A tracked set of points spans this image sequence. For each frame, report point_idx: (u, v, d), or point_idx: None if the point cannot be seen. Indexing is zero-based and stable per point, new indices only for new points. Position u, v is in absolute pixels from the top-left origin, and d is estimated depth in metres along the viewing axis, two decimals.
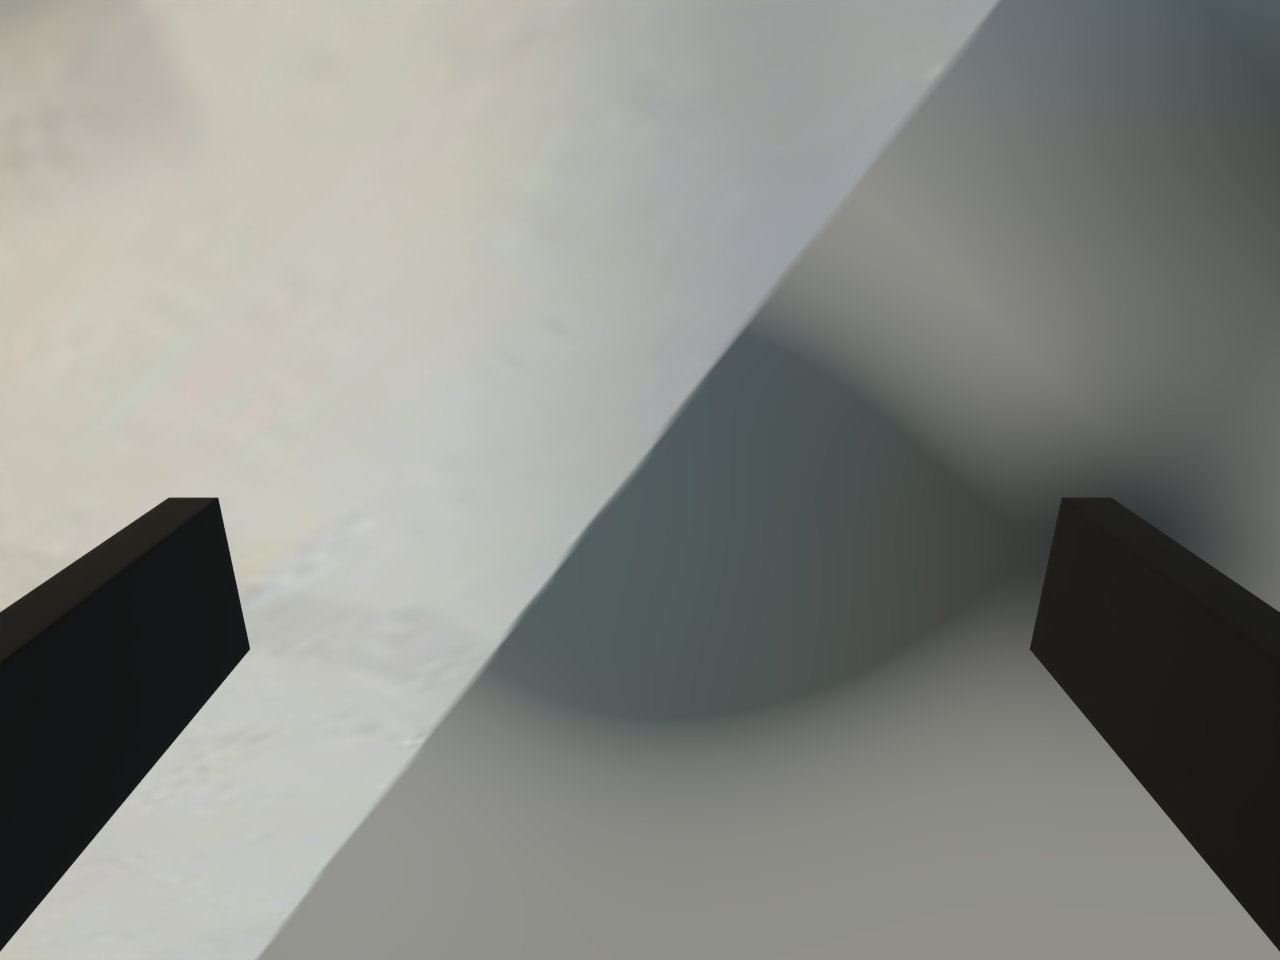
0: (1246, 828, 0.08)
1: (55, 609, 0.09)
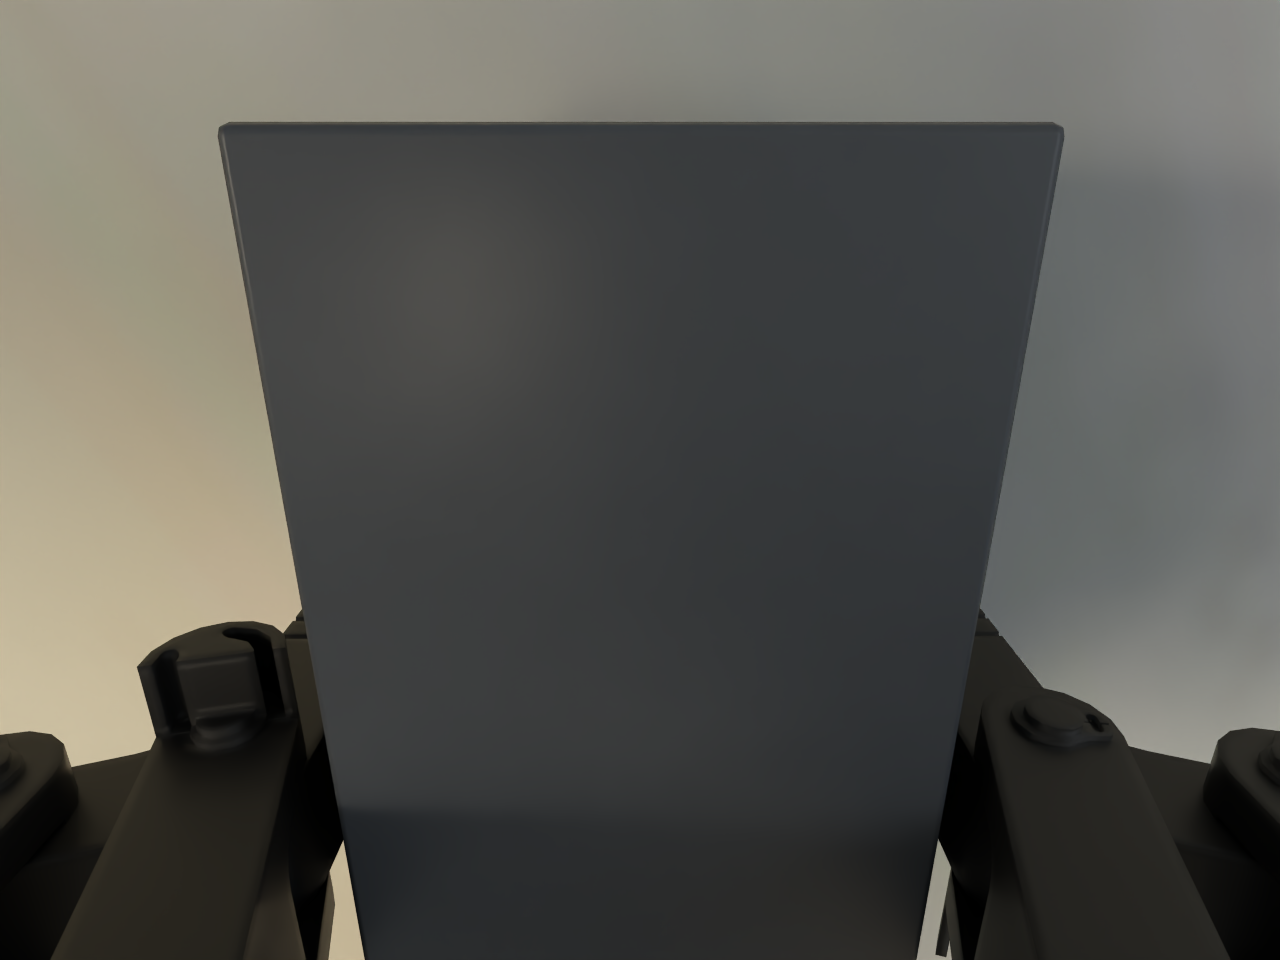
0: None
1: None
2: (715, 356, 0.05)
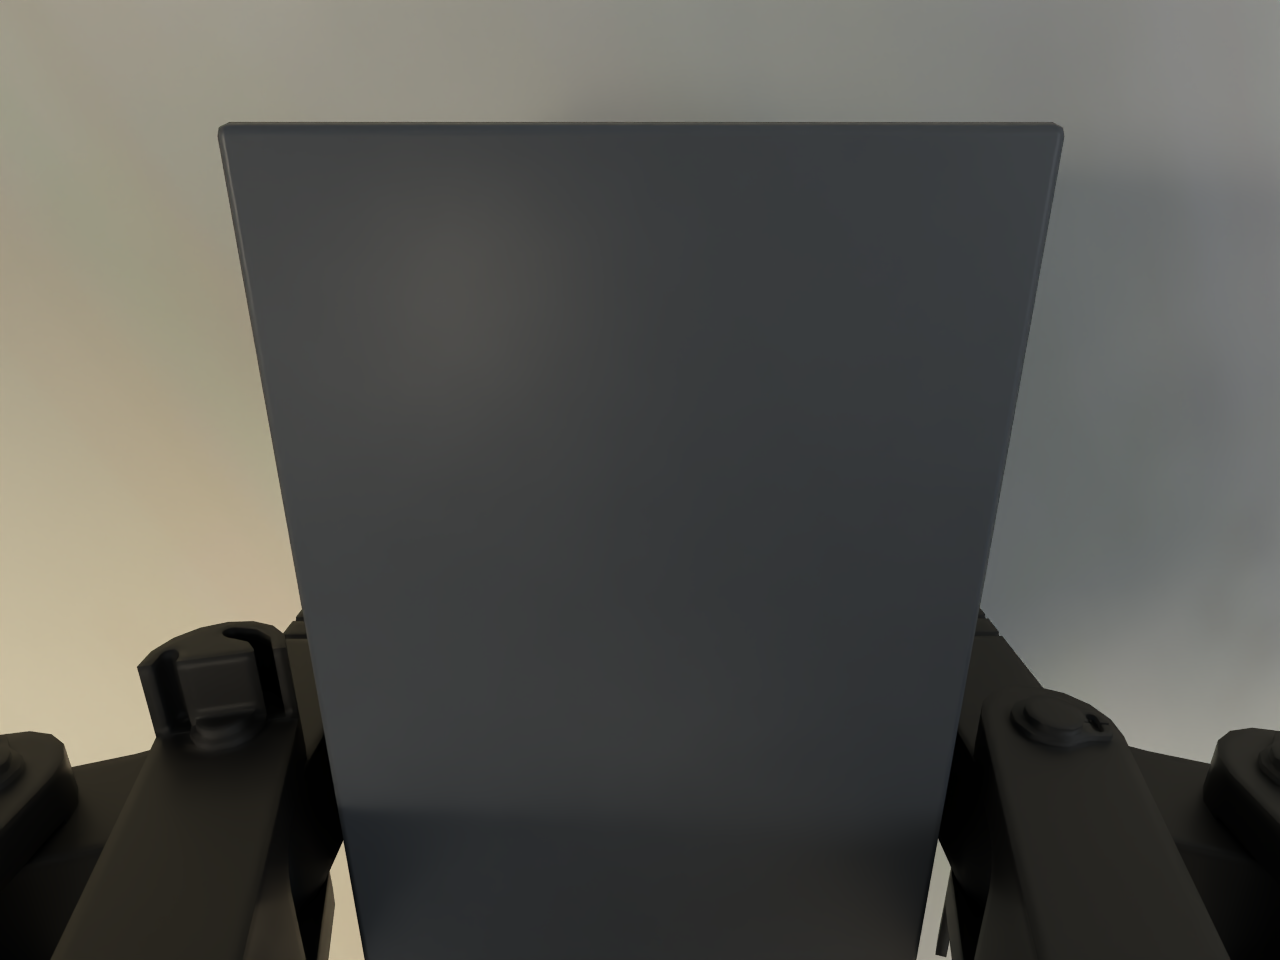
0: None
1: None
2: (713, 357, 0.05)
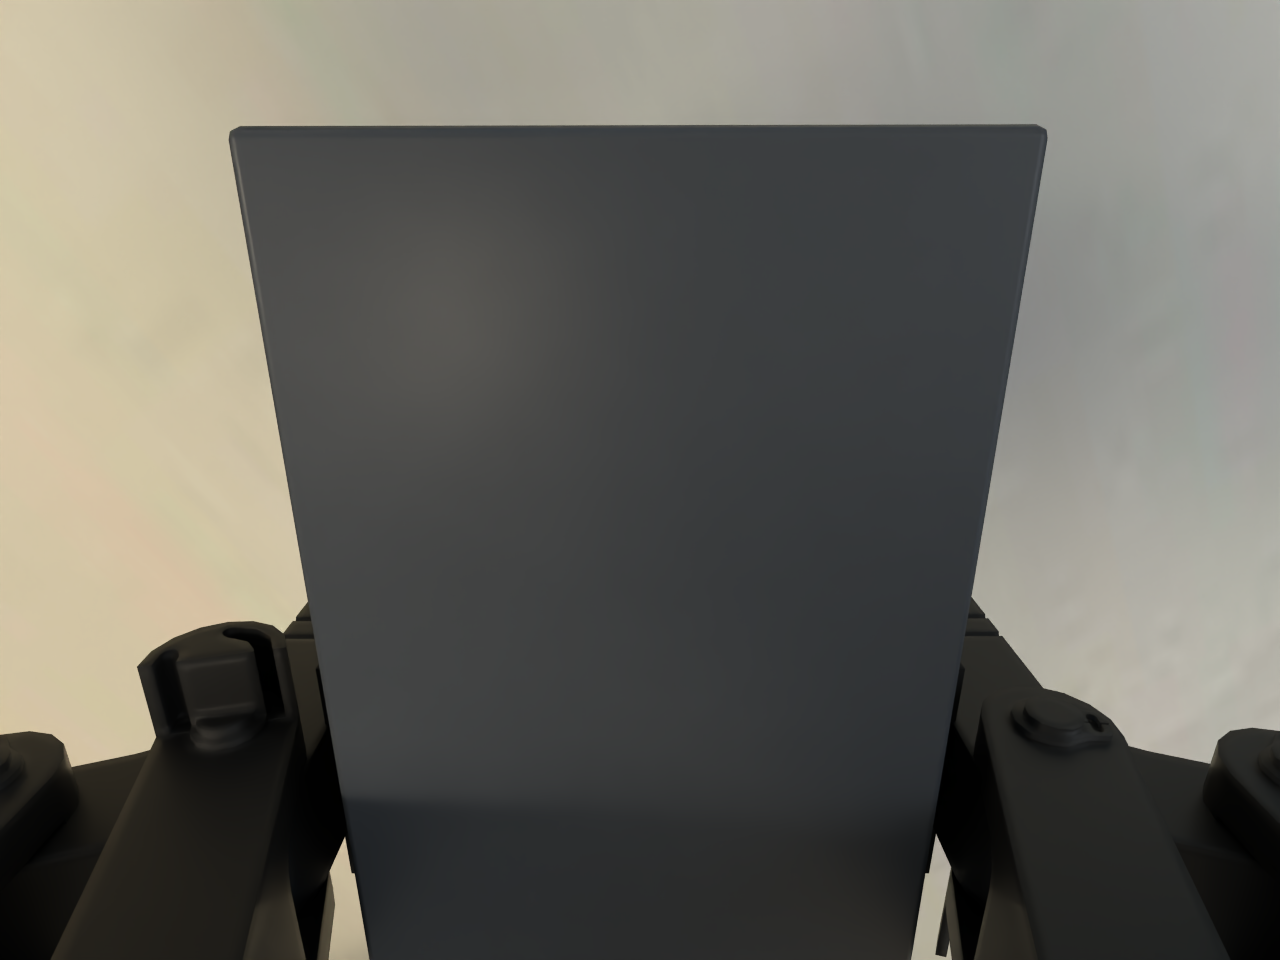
0: None
1: None
2: (710, 353, 0.05)
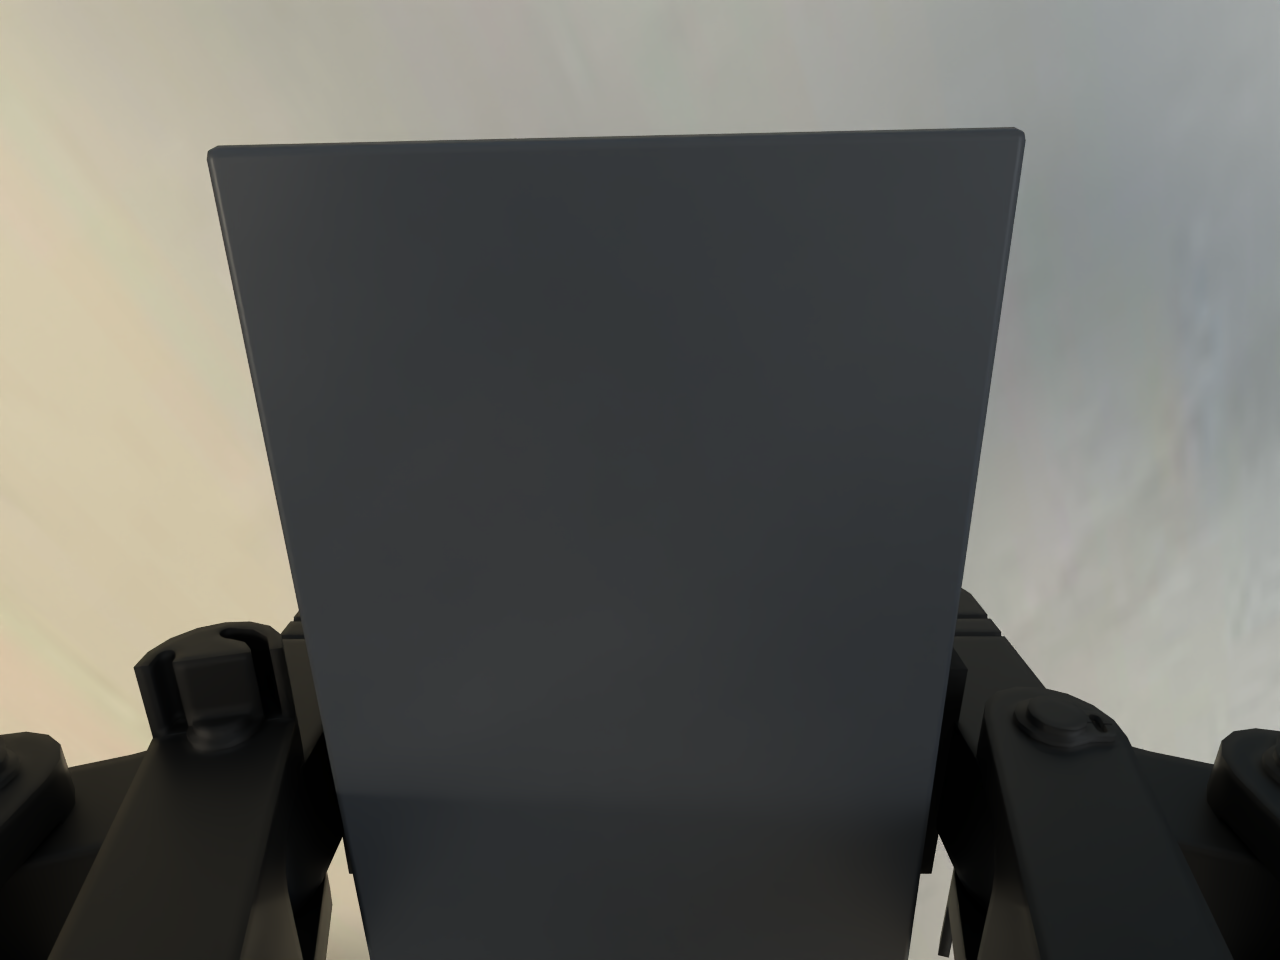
0: None
1: None
2: (691, 362, 0.05)
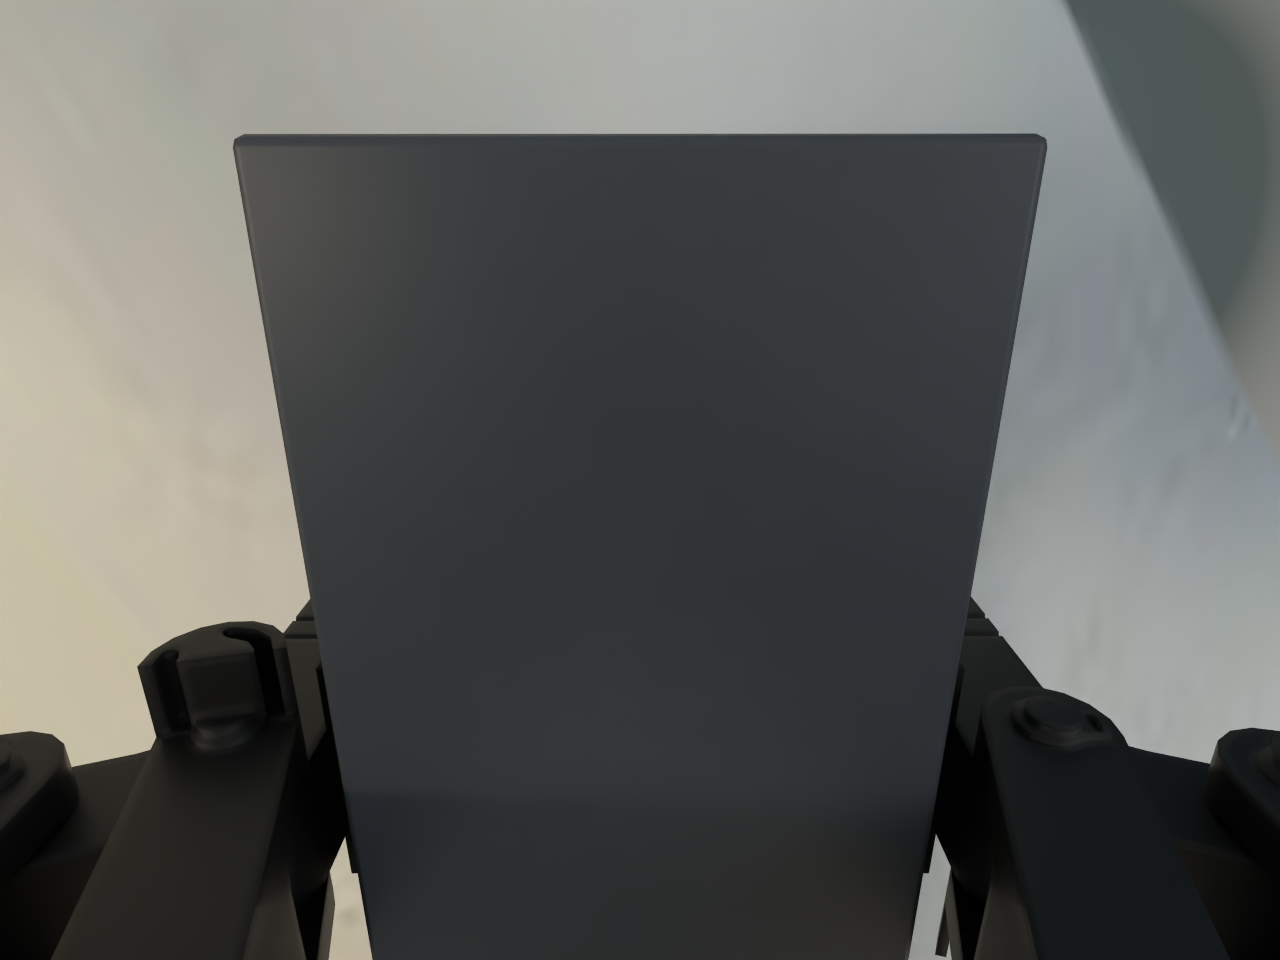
0: None
1: None
2: (711, 360, 0.05)
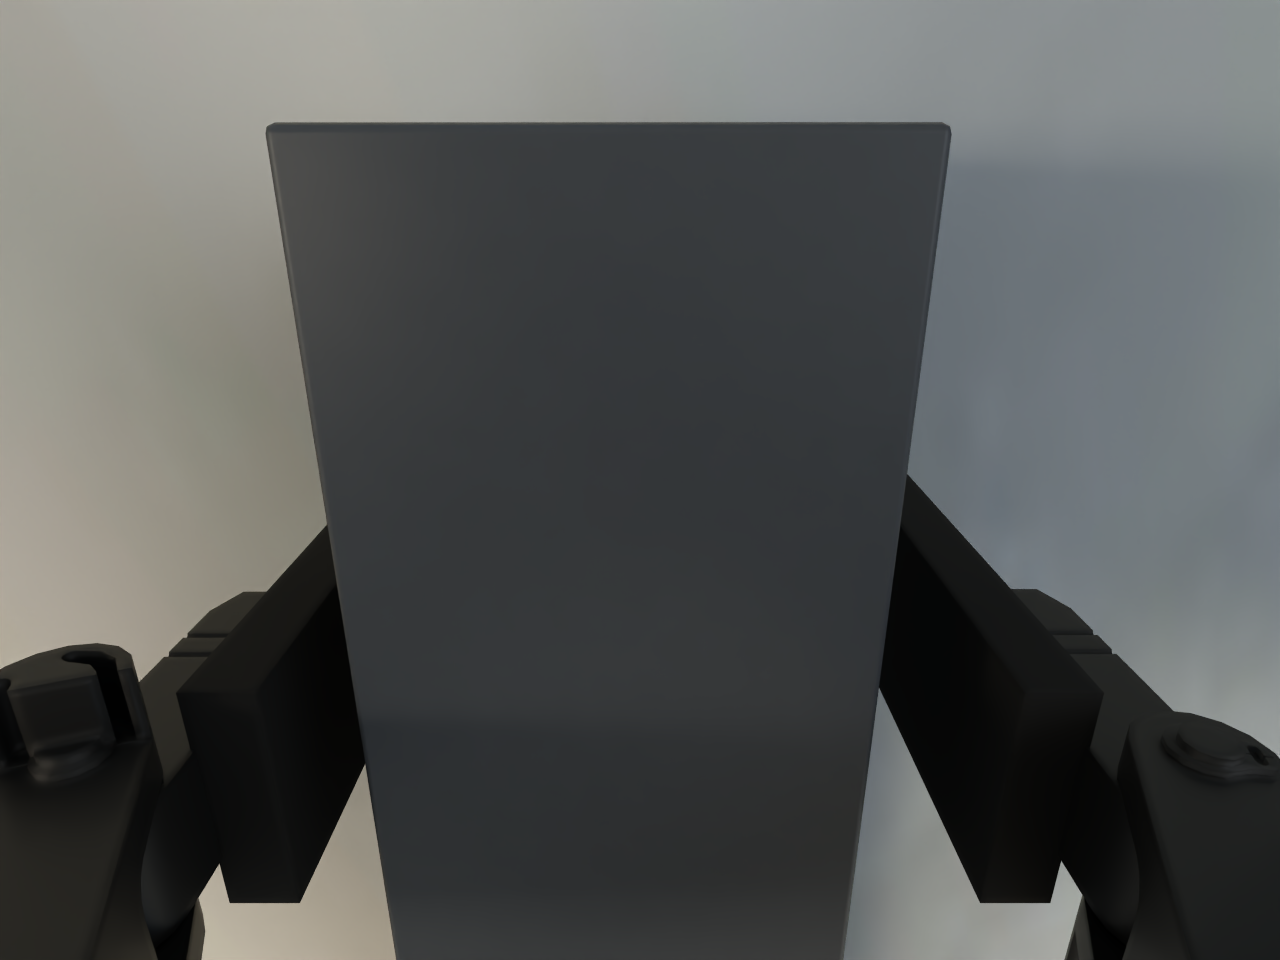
0: (929, 726, 0.10)
1: None
2: (671, 315, 0.06)
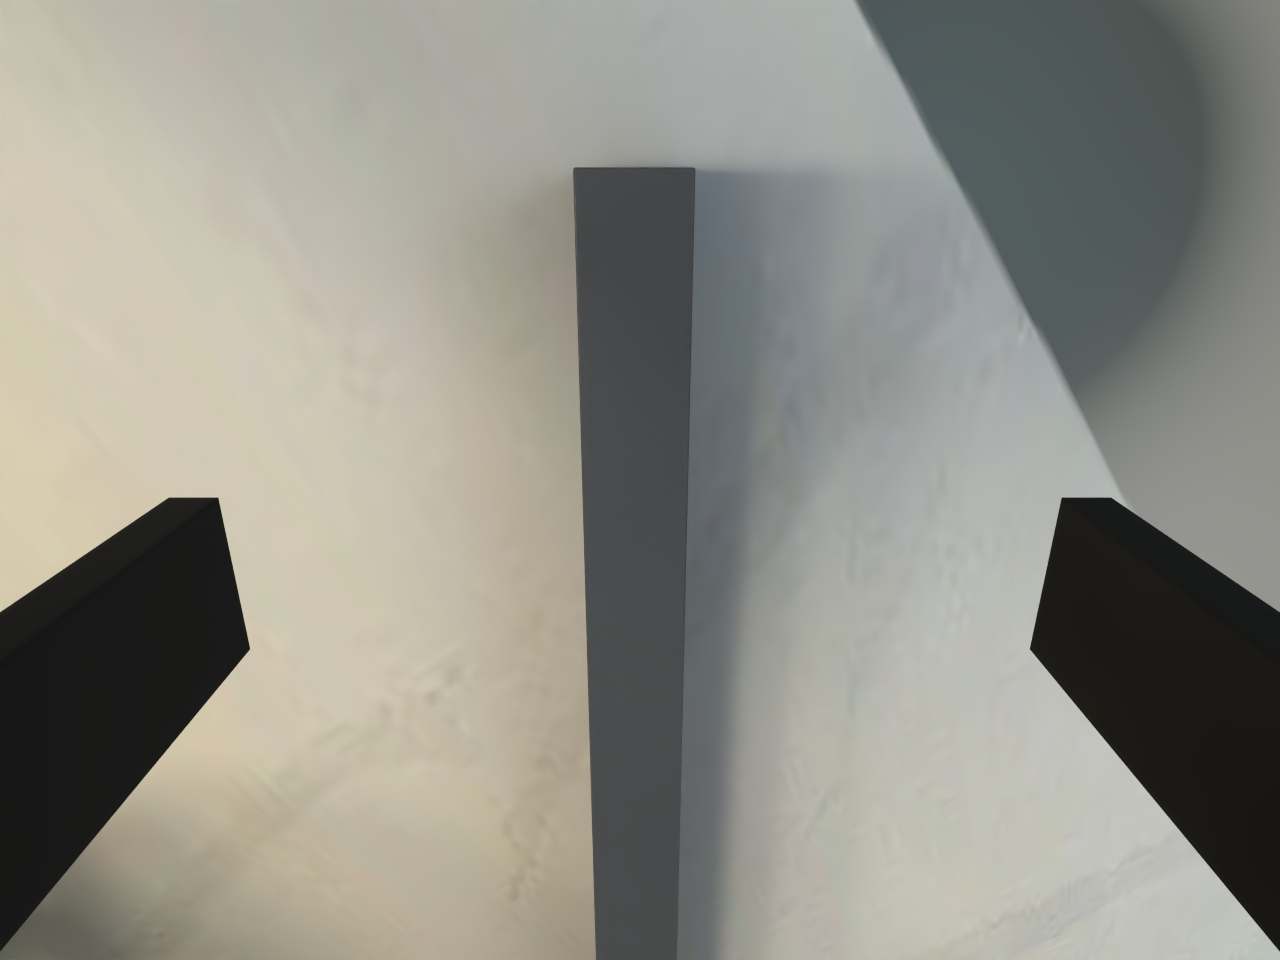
0: (1245, 829, 0.08)
1: (55, 609, 0.09)
2: (645, 203, 0.32)
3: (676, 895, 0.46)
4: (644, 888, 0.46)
